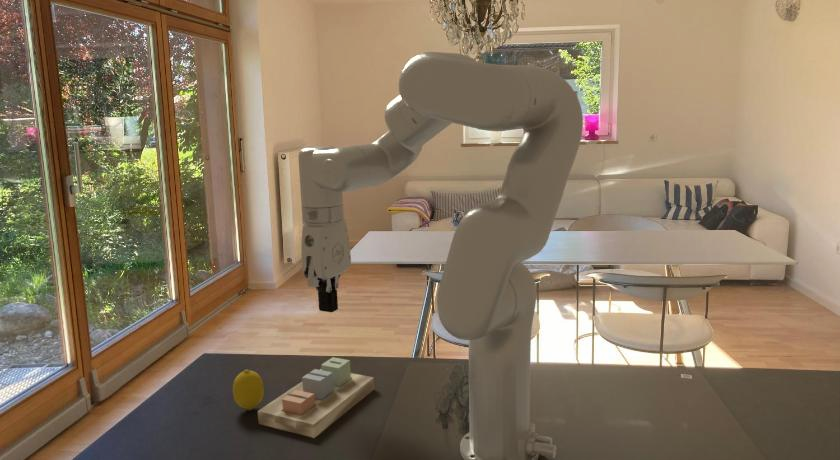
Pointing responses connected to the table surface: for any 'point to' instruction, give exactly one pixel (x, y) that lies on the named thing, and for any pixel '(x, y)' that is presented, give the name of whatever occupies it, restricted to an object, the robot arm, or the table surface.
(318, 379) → the key slate
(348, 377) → the key sage
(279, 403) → the keypad board
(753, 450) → the table surface
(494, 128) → the robot arm
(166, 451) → the table surface
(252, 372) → the lemon
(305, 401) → the key terracotta
